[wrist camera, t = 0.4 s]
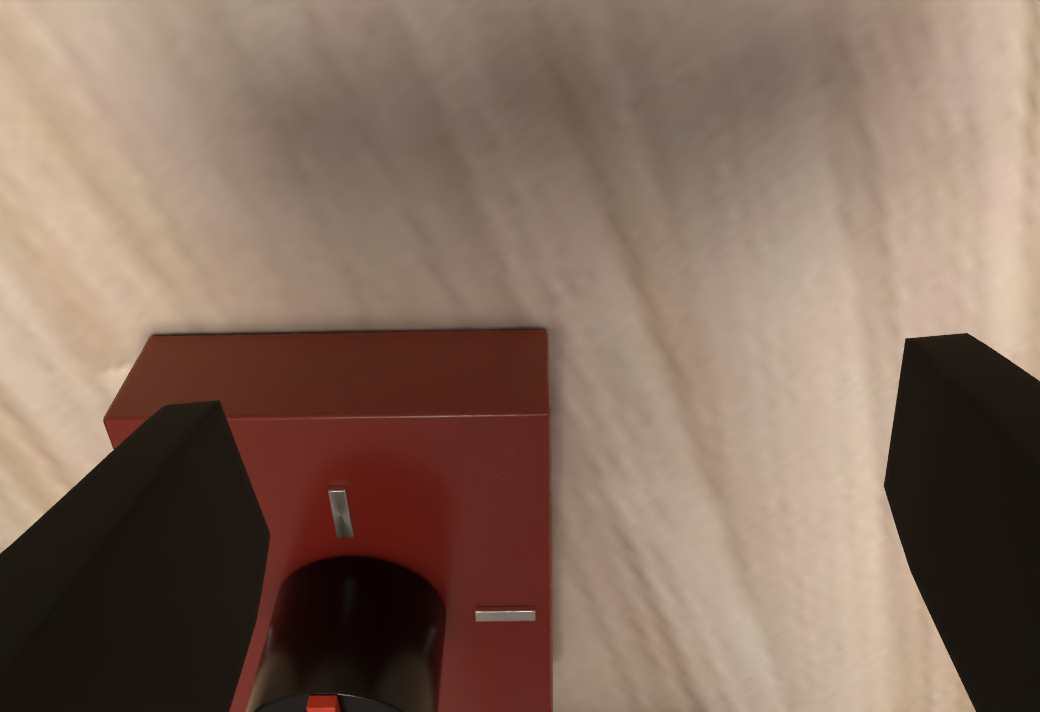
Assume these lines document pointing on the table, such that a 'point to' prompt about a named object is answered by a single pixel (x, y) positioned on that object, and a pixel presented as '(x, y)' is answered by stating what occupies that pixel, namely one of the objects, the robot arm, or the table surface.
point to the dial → (352, 641)
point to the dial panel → (392, 476)
